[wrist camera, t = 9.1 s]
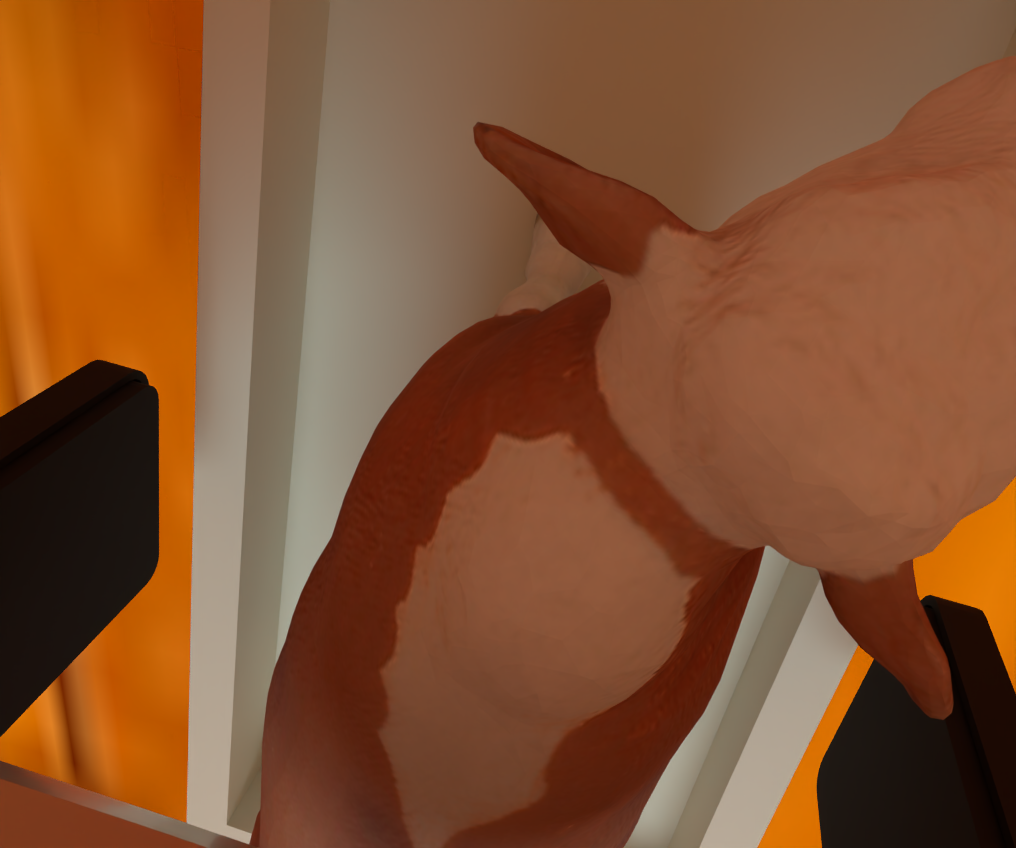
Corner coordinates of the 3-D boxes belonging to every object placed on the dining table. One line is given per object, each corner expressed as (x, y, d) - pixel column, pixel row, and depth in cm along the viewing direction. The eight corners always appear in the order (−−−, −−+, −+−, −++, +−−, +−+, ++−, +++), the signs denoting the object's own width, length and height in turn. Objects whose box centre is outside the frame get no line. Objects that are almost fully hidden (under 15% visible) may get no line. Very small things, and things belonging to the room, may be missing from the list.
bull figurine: (1014, 68, 10) (1653, 298, 3) (530, 768, 17) (378, 1355, 10) (669, -108, 10) (516, -283, 3) (319, 662, 17) (14, 1170, 10)
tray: (320, -358, 11) (211, -443, 8) (1173, -202, 10) (1305, -251, 7) (248, 741, 19) (186, 839, 17) (684, 884, 18) (677, 1007, 16)
